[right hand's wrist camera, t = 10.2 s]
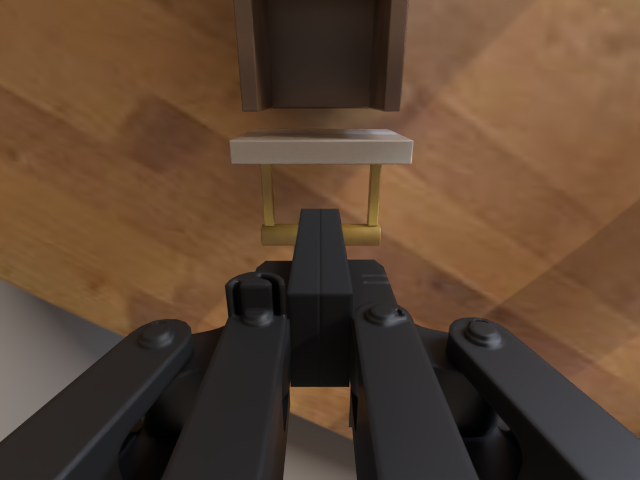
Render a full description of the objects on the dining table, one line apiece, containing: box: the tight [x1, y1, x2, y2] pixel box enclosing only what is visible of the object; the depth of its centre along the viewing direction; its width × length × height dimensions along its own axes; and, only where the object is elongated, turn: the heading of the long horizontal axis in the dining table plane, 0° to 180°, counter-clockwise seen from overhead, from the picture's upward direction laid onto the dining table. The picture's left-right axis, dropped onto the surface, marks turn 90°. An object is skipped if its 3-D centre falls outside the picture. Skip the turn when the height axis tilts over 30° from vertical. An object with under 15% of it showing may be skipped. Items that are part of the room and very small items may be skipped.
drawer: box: [229, 0, 413, 246], centre depth 19 cm, size 25×9×7 cm, turn 0°
